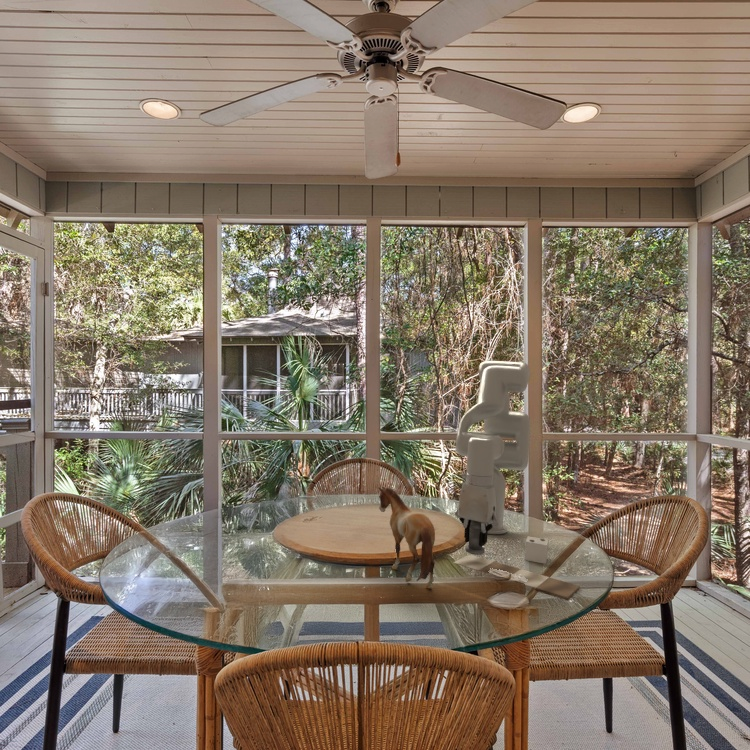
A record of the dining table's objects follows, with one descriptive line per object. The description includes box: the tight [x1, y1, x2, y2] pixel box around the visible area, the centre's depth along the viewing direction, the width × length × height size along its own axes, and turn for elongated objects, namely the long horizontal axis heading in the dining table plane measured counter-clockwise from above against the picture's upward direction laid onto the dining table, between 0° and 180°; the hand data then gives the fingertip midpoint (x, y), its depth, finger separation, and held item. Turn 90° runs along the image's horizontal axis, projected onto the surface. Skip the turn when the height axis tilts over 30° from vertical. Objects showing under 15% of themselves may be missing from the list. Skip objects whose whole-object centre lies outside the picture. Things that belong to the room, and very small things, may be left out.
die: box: [524, 536, 549, 565], centre depth 156 cm, size 6×6×6 cm
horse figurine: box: [378, 486, 436, 589], centre depth 137 cm, size 31×8×21 cm, turn 20°
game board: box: [452, 553, 580, 601], centre depth 142 cm, size 32×10×1 cm, turn 53°
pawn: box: [465, 520, 486, 556], centre depth 150 cm, size 5×5×9 cm
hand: (475, 542), depth 150 cm, fingers closed on pawn, 3 cm apart
